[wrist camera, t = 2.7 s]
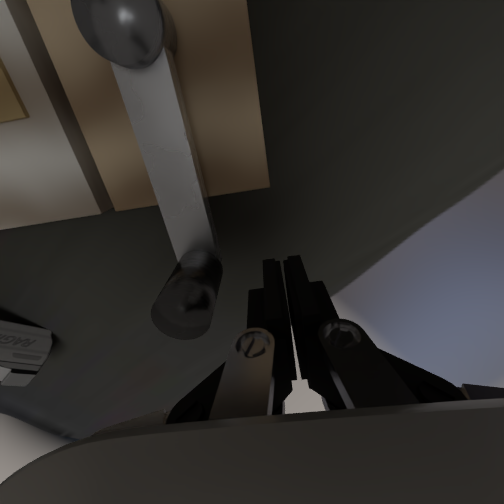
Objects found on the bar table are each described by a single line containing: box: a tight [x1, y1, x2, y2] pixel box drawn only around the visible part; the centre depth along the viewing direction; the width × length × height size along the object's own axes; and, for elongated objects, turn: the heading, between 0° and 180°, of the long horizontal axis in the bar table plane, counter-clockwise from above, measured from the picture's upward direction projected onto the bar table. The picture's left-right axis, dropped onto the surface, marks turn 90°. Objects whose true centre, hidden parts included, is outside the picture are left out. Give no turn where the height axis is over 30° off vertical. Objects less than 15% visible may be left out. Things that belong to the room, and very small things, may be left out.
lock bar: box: [70, 0, 223, 340], centre depth 11 cm, size 15×3×6 cm, turn 9°
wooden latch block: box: [0, 0, 270, 230], centre depth 15 cm, size 14×26×5 cm, turn 99°
